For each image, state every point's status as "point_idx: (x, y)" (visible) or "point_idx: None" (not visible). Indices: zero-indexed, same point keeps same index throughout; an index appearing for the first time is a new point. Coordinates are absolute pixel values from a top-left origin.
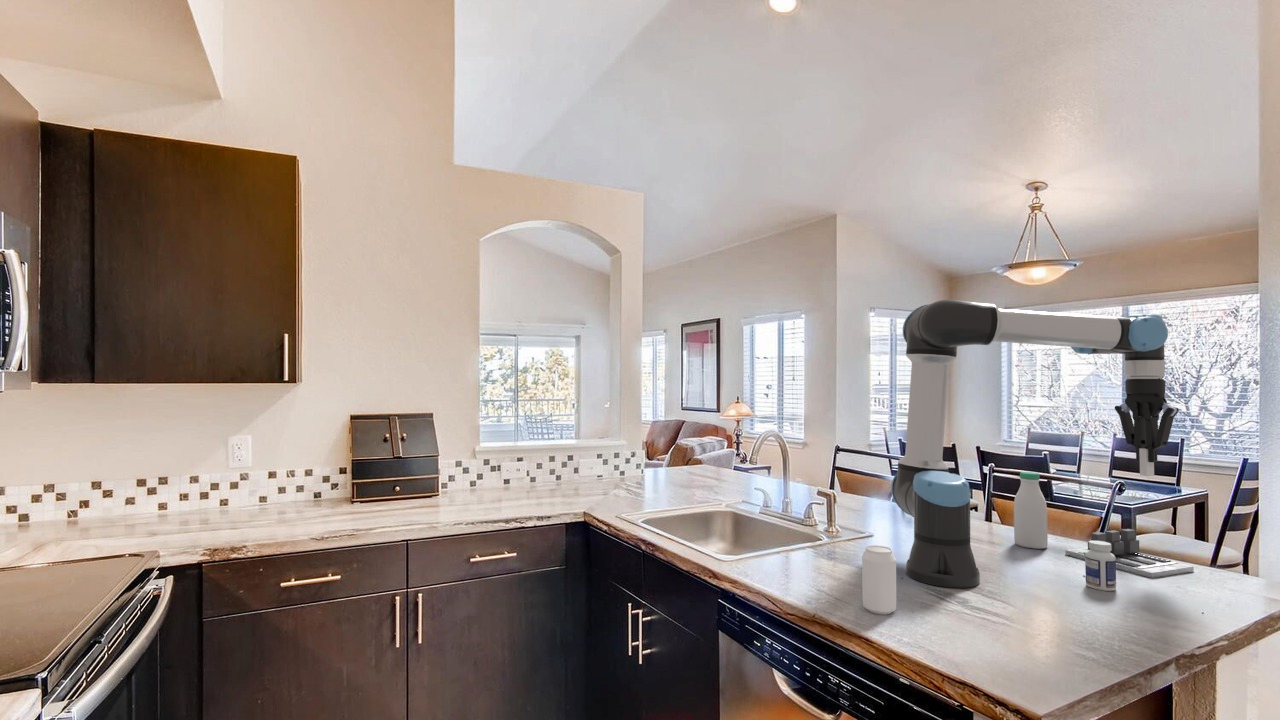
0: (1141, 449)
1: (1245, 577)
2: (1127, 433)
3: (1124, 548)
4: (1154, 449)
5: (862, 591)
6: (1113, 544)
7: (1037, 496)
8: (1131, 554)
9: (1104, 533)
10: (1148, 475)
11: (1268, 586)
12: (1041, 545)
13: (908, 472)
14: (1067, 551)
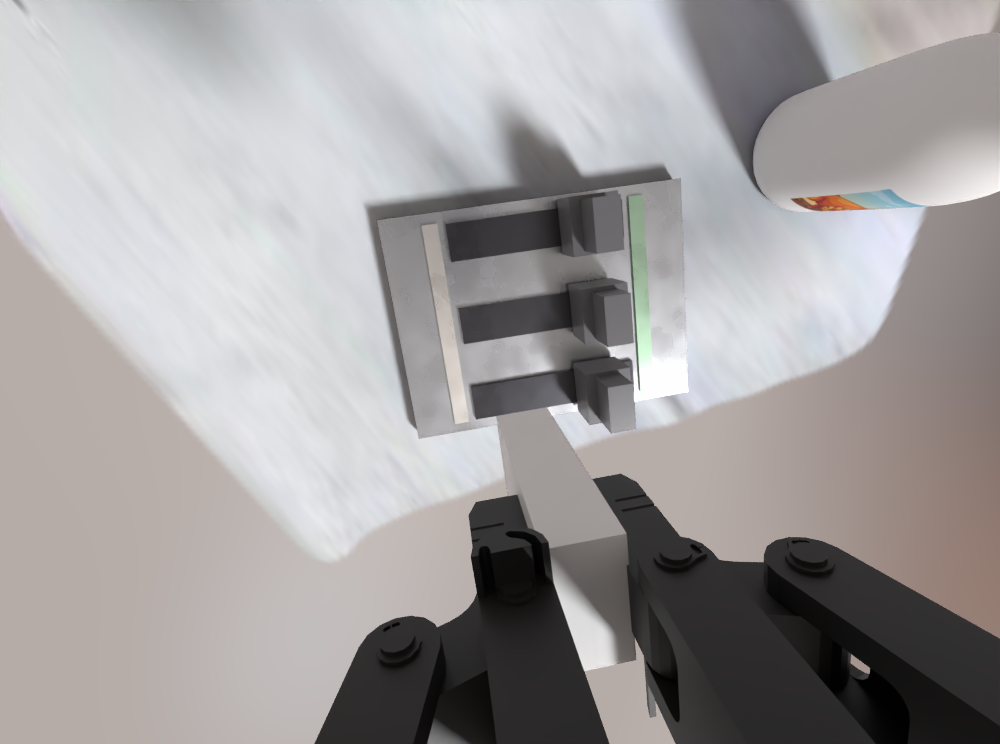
0: (595, 530)
1: (347, 525)
2: (957, 662)
3: (595, 363)
4: (475, 609)
5: None
6: (581, 288)
7: (955, 98)
8: (573, 369)
9: (600, 250)
10: (500, 438)
11: (262, 503)
12: (759, 145)
13: None
14: (672, 180)
